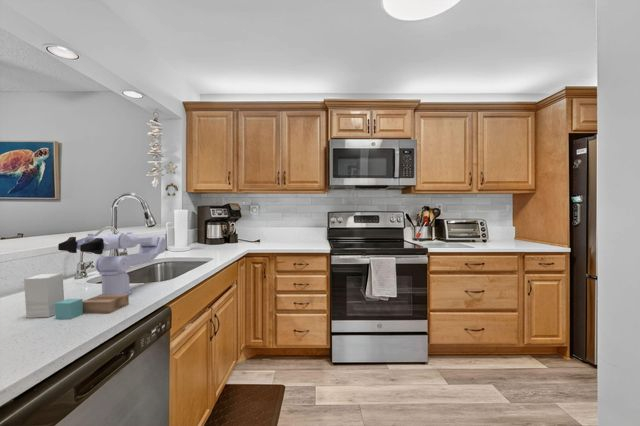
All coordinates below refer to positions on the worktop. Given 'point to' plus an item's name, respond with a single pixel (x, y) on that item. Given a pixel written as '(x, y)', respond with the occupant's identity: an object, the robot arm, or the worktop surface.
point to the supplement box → (43, 294)
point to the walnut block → (105, 303)
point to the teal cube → (68, 308)
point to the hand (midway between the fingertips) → (70, 247)
